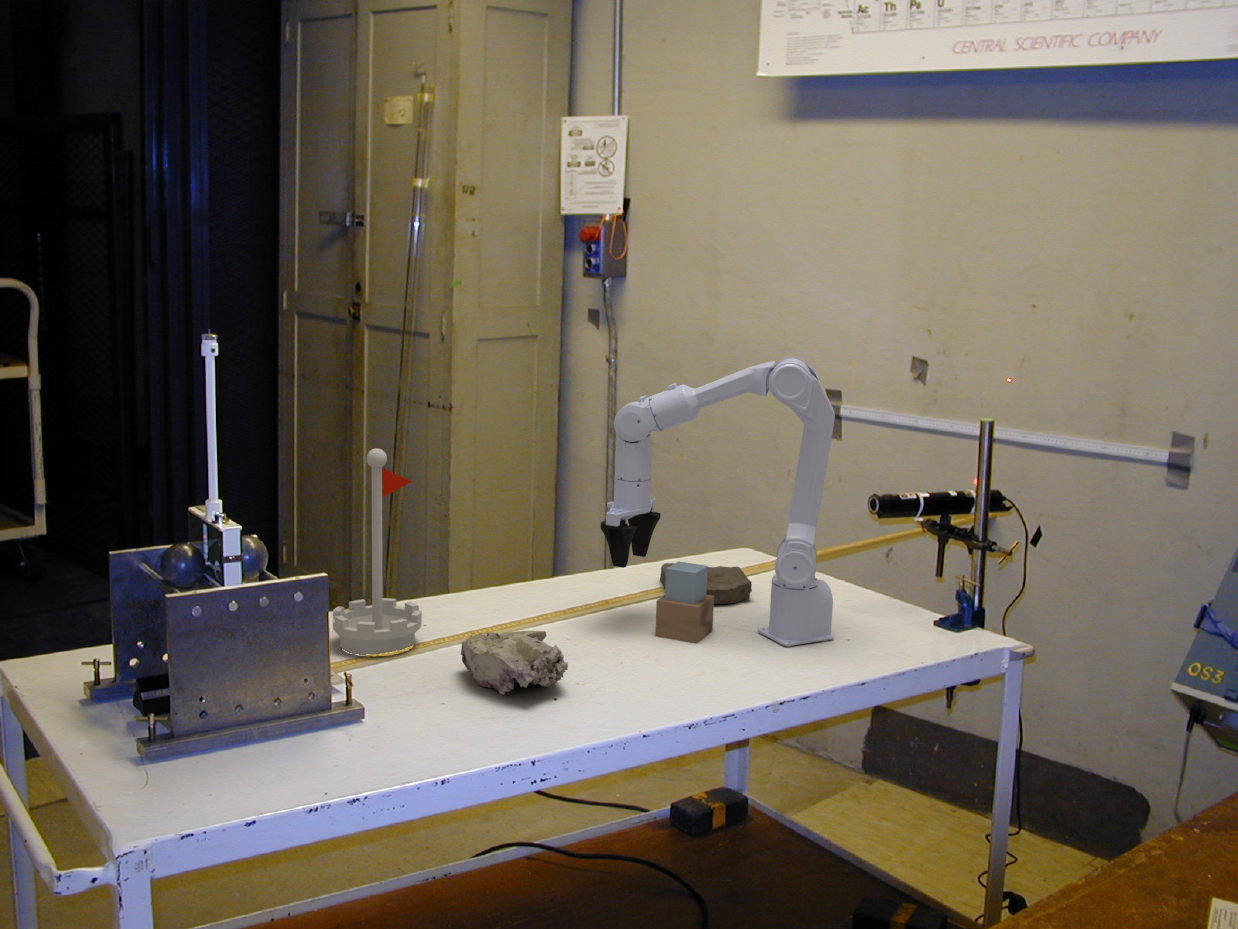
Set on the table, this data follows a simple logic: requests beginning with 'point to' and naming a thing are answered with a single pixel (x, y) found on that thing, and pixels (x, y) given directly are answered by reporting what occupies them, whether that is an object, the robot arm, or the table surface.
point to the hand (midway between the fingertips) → (629, 561)
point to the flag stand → (378, 586)
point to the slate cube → (686, 582)
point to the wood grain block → (684, 619)
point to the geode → (512, 659)
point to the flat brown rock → (722, 583)
